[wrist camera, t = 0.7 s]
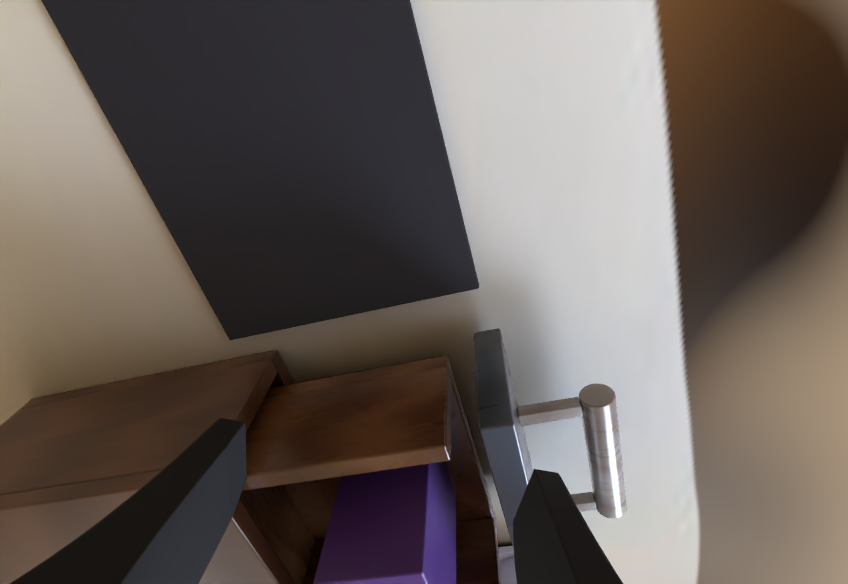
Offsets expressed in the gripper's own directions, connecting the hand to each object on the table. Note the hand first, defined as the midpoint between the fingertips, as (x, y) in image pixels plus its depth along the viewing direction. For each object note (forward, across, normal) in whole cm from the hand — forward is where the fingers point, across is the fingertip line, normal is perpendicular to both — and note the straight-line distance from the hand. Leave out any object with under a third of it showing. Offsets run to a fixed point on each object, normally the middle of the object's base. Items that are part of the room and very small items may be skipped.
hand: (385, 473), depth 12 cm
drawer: (+9, -2, +9) cm, 13 cm away
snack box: (+8, -1, +9) cm, 12 cm away
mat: (+10, +6, -6) cm, 14 cm away
